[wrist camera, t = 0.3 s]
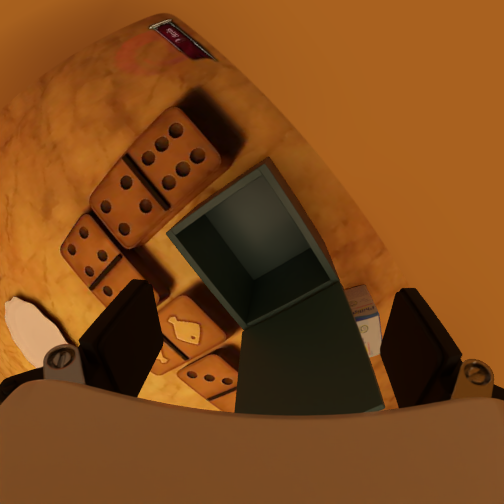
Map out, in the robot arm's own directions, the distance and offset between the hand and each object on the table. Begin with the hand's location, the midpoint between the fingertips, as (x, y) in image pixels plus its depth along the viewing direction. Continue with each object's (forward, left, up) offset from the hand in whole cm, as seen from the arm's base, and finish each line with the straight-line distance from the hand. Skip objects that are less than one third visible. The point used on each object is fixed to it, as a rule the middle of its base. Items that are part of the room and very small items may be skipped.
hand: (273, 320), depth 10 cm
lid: (+11, -5, -10) cm, 15 cm away
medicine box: (+23, +1, -30) cm, 38 cm away
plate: (-3, -70, -30) cm, 77 cm away
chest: (+3, -5, -30) cm, 30 cm away
